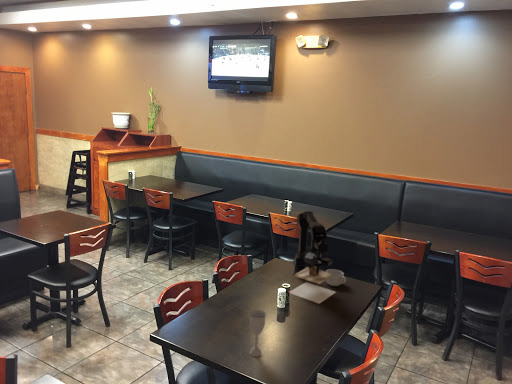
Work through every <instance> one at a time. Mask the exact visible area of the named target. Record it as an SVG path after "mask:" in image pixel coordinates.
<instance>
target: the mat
mask: <svg viewBox="0 0 512 384" xmlns="http://www.w3.org/2000/svg"><path fill="white" fill-rule="evenodd" d="M289 292H290V293H289V294H290V295H294V296H296V297H300V298H302V299H304V300H308V301H311V302H314V303H315V304H319V305H320V304H321V303H322V302H324V301H326V300H327V299H329V298H330V297H332V296H333V295H335V294H336V293H337V291H334V290H332V289H329V288H326V287H323V286H319V285H316V284H315V283H314V284H313V283H312V282H311V283H310V282H309V281H308V282H307V281H305V282H304V283H302V284H301V285H299V286H297V287H295V288H293V289H291V290H289Z"/></svg>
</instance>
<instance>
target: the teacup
mask: <svg viewBox="0 0 512 384" xmlns="http://www.w3.org/2000/svg"><path fill="white" fill-rule="evenodd" d="M325 272H327V273H331V274H333V276H332V277H330V278H329V279H327V280H326V281H325V282H326V283H327V285H329V286H331V287H338V286H340V285H342V284H345V283H346V281H347V278H346V277H345V276H344V275H345V273H344V272H343V271H342V270H339V269H334V268H329V269H326V270H325Z"/></svg>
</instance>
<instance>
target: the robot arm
mask: <svg viewBox="0 0 512 384" xmlns="http://www.w3.org/2000/svg"><path fill="white" fill-rule="evenodd" d="M296 221H297V225H298V227H299V233H298V234H299V235H298V237H299V238H298V251H297V252H296V254H295V256H294V259H293V260H292V266H293V267H294V271H293V273H292V275H293V276H294V274H296V273H298V272H300V271H302V270H304V269H306V268H307V267H309V269H310V267H312V266H314V265H313V264H314V262H315V263H316V267H317V274H318V273H319V271H320V270H321V271H322V268H323V266H324V267H330V266H331V265H332V264H333V260H332V259H331V258H330V257H329V258H328V257H324V258H322V256H323V255H322V254H324V253H326V252H327V251H328V250H329V246H328V243H326V240H327V236H328V235H327V230H326V228H325V226H324V224H322V223H320V222H319V221H318V220H317V218H316V217H315V215H314V213H313V211H309V210H308V211H304V212H301V213H298V215H297V216H296ZM309 227H310V229H309ZM308 229H309V230H310V231H309V232H310V235H311V244H310V248H309V251H308V252H307V240H308V239H307V238H308ZM317 262H318V263H317Z"/></svg>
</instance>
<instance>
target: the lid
mask: <svg viewBox="0 0 512 384" xmlns="http://www.w3.org/2000/svg"><path fill="white" fill-rule="evenodd" d="M293 274H294V273H293ZM293 276H294V277H296V278H299V279H303V280H305V281H308V282H311V283H314V284H318V285H320V284H322V283H324V282H326V280H327V279H329V278H330V277H332V276H333V274H331V273H327V272H326V271H323V270H322V269H321V270H320V271H319V273H318V274H317V266H316V265H313V266H312V267H310V269H309V267H306V269H304V270H302V271H300V272H298V273H296V274H294V275H293Z"/></svg>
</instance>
